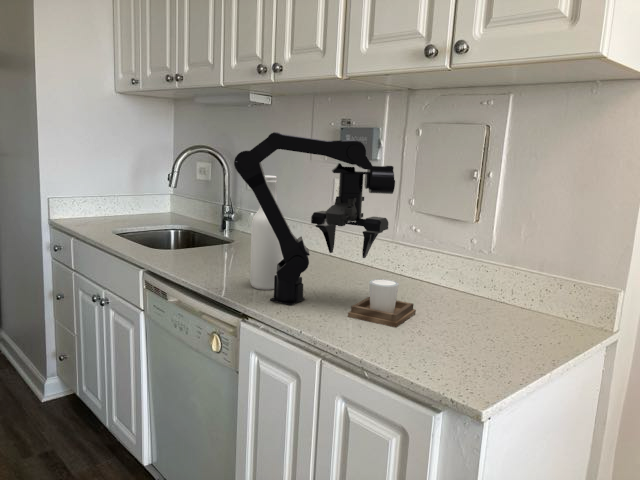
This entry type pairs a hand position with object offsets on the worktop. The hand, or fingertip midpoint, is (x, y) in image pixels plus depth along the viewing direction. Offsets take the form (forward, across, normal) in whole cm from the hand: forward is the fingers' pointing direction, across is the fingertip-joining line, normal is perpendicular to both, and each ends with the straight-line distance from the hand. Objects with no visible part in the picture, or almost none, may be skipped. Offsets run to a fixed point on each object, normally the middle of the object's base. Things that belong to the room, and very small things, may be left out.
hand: (347, 255), depth 131 cm
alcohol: (+12, -24, 0) cm, 27 cm away
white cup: (+11, +12, -4) cm, 17 cm away
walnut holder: (+12, +12, -4) cm, 17 cm away
